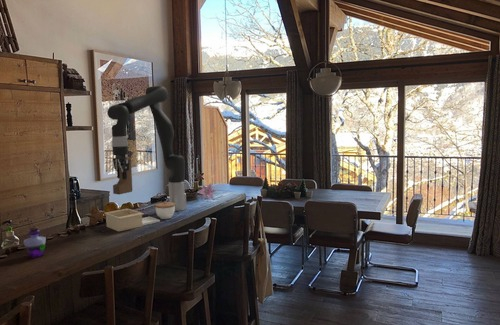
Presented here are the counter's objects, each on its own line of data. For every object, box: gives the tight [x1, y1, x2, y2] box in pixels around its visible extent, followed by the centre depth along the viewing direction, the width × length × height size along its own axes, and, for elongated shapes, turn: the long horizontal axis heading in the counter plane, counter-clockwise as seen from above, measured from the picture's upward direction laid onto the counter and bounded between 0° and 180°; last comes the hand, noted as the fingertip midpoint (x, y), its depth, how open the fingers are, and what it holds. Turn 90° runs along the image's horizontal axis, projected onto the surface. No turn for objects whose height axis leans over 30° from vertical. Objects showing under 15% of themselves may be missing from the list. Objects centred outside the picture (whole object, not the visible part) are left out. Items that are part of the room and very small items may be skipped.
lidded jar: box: [154, 200, 176, 220], centre depth 222 cm, size 11×11×9 cm
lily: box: [197, 182, 217, 200], centre depth 276 cm, size 12×12×10 cm
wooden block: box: [112, 156, 133, 195], centre depth 203 cm, size 9×4×18 cm, turn 150°
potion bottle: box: [23, 226, 47, 259], centre depth 162 cm, size 9×9×12 cm
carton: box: [103, 208, 145, 232], centre depth 205 cm, size 13×18×7 cm
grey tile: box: [142, 216, 161, 226], centre depth 214 cm, size 10×11×1 cm
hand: (122, 178), depth 203 cm, fingers closed on wooden block, 4 cm apart
